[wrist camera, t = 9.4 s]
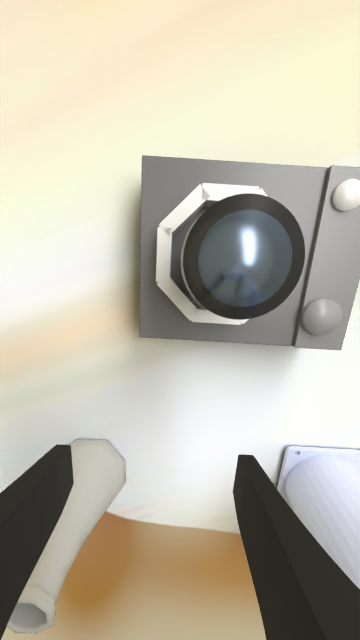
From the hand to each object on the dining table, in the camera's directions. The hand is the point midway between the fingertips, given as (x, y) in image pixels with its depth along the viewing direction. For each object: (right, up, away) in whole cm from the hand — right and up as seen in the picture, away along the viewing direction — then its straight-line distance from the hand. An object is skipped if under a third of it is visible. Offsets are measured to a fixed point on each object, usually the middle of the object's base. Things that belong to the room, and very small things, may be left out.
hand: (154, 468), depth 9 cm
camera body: (+6, +11, +8) cm, 15 cm away
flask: (-8, -9, +13) cm, 18 cm away
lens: (+3, +10, +5) cm, 12 cm away
